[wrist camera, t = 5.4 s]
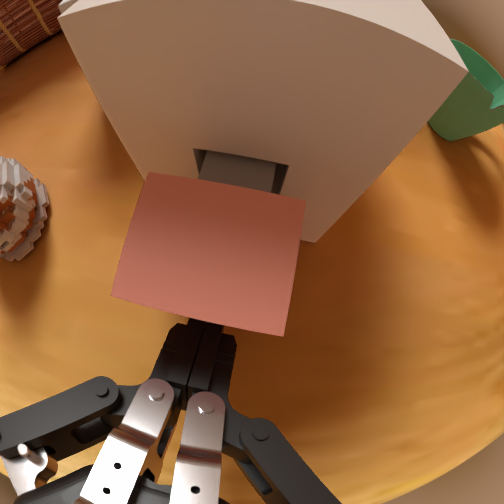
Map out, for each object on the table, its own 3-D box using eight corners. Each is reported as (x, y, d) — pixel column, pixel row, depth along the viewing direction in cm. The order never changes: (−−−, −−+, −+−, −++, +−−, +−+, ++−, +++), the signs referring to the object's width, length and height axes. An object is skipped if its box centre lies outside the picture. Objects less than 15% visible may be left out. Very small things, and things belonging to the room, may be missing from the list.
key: (179, 309, 17) (110, 295, 7) (228, 128, 20) (226, 21, 11) (257, 326, 17) (283, 336, 7) (291, 139, 20) (321, 36, 11)
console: (164, 212, 19) (56, 18, 4) (217, 76, 23) (212, -70, 7) (314, 243, 19) (469, 71, 4) (328, 97, 23) (380, -42, 8)
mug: (435, 161, 22) (494, 106, 13) (393, 90, 24) (429, 29, 15) (496, 158, 24) (541, 122, 14) (462, 100, 26) (497, 59, 16)
